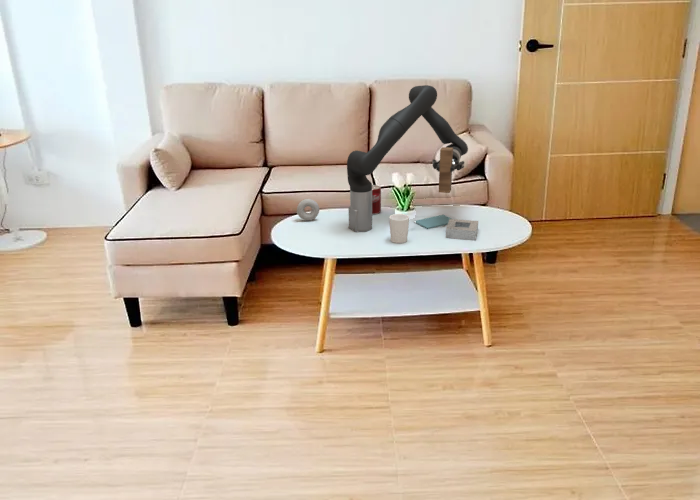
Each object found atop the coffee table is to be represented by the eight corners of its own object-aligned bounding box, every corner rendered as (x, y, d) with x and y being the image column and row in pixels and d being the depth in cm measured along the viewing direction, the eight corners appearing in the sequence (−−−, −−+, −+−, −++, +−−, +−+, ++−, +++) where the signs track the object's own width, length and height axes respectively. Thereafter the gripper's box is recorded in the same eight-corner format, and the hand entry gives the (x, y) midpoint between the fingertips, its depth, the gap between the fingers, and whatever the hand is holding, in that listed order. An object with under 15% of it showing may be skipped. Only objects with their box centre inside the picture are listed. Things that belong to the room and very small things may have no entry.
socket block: (475, 240, 253) (475, 231, 251) (445, 237, 256) (446, 228, 254) (477, 229, 263) (478, 221, 262) (449, 227, 266) (449, 218, 265)
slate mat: (427, 229, 265) (427, 227, 265) (413, 222, 273) (413, 221, 273) (457, 222, 272) (457, 220, 272) (443, 215, 281) (443, 214, 280)
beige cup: (386, 242, 253) (386, 219, 249) (392, 235, 259) (393, 212, 255) (405, 244, 250) (405, 221, 246) (411, 238, 256) (411, 215, 253)
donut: (319, 218, 280) (318, 197, 277) (320, 220, 277) (319, 199, 273) (297, 219, 279) (295, 198, 275) (297, 222, 276) (296, 200, 272)
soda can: (379, 215, 283) (379, 189, 278) (363, 214, 284) (363, 189, 280) (382, 210, 289) (382, 185, 285) (366, 209, 291) (366, 184, 286)
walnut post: (449, 193, 260) (451, 150, 253) (438, 192, 261) (440, 149, 254) (451, 189, 264) (453, 147, 257) (440, 189, 265) (441, 147, 258)
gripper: (434, 149, 271) (427, 159, 256) (467, 151, 268) (462, 161, 253) (434, 166, 274) (427, 177, 259) (466, 168, 271) (461, 179, 256)
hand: (444, 169), depth 256 cm, fingers closed on walnut post, 4 cm apart
